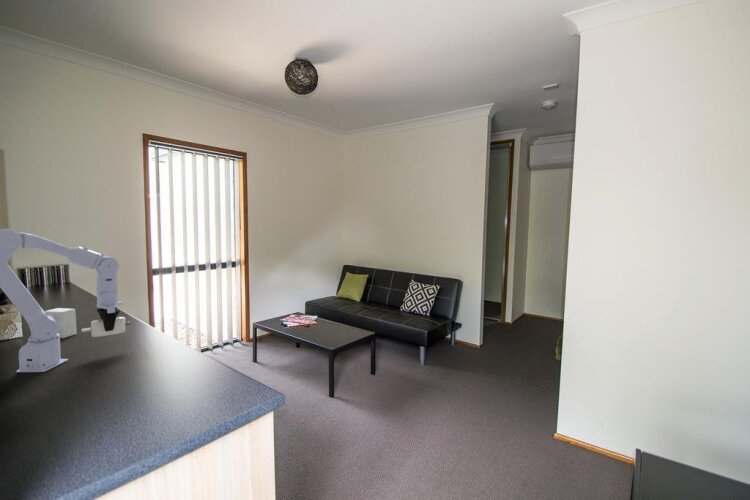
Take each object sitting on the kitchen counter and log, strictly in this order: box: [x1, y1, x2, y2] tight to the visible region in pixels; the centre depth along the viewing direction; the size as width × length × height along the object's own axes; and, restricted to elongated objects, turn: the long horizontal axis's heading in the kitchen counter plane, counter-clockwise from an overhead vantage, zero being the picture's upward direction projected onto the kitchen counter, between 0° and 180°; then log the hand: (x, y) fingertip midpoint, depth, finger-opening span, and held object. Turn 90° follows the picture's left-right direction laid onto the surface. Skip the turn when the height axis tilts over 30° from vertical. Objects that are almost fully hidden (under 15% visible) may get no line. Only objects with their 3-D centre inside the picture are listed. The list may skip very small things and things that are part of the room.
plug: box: [81, 316, 131, 338], centre depth 121 cm, size 13×4×5 cm, turn 135°
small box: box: [44, 307, 77, 339], centre depth 138 cm, size 8×6×10 cm
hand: (108, 329), depth 122 cm, fingers closed on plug, 3 cm apart
